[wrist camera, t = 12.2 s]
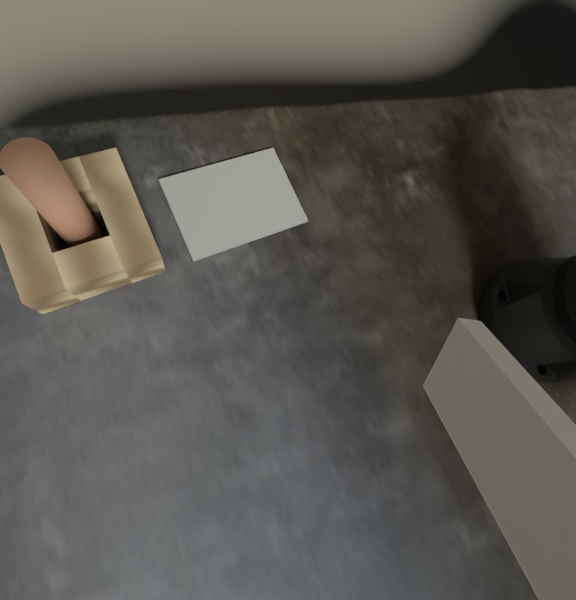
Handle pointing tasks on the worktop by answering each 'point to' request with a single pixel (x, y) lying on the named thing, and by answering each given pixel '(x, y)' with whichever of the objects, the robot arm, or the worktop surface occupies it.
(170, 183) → the mat
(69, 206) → the peg
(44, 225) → the hole block
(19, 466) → the worktop surface
